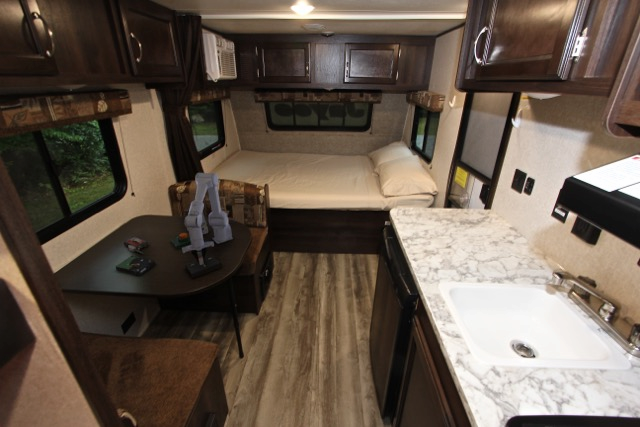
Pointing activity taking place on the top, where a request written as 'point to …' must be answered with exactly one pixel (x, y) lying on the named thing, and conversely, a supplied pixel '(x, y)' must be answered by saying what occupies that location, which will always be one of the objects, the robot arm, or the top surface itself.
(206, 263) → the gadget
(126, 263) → the disk drive
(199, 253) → the pale grey block
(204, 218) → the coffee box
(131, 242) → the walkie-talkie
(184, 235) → the button
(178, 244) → the control block
